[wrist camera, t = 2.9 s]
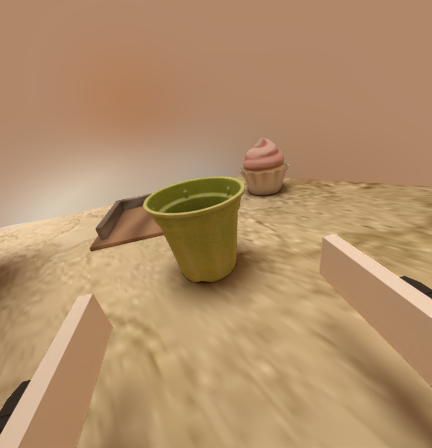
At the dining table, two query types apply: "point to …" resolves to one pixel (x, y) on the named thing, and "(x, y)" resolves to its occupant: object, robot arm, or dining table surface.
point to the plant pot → (200, 224)
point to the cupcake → (264, 168)
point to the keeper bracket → (126, 224)
